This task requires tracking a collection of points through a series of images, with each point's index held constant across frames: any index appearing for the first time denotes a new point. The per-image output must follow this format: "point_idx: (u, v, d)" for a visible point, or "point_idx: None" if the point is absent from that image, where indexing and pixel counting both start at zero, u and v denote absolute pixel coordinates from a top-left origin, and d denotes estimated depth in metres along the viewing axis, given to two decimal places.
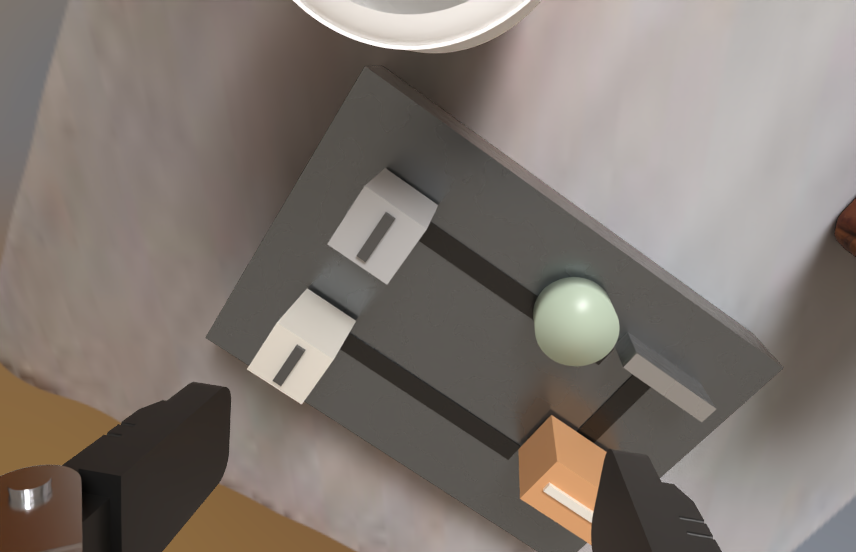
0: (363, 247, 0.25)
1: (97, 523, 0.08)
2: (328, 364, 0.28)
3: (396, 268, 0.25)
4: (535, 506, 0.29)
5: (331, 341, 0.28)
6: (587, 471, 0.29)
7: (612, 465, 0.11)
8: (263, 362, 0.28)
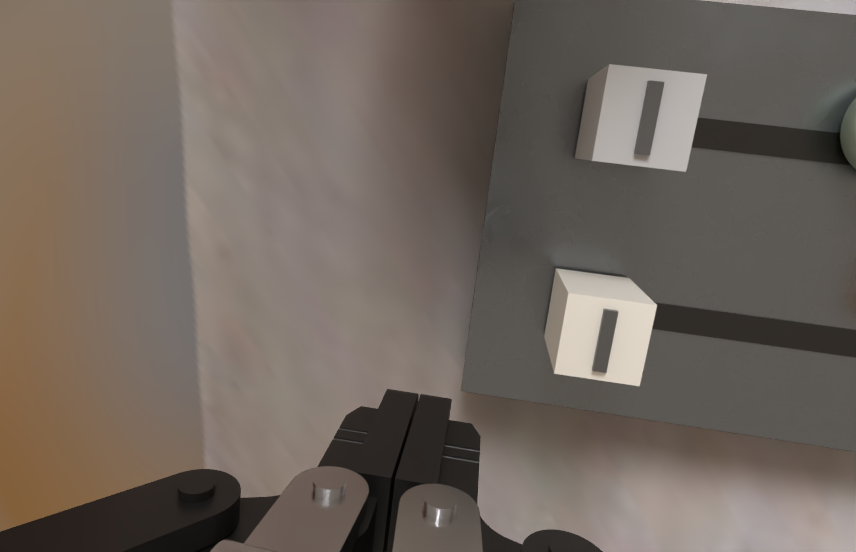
0: (639, 138, 0.19)
1: (373, 521, 0.09)
2: (653, 315, 0.21)
3: (689, 144, 0.19)
4: None
5: (633, 294, 0.22)
6: None
7: None
8: (571, 354, 0.22)
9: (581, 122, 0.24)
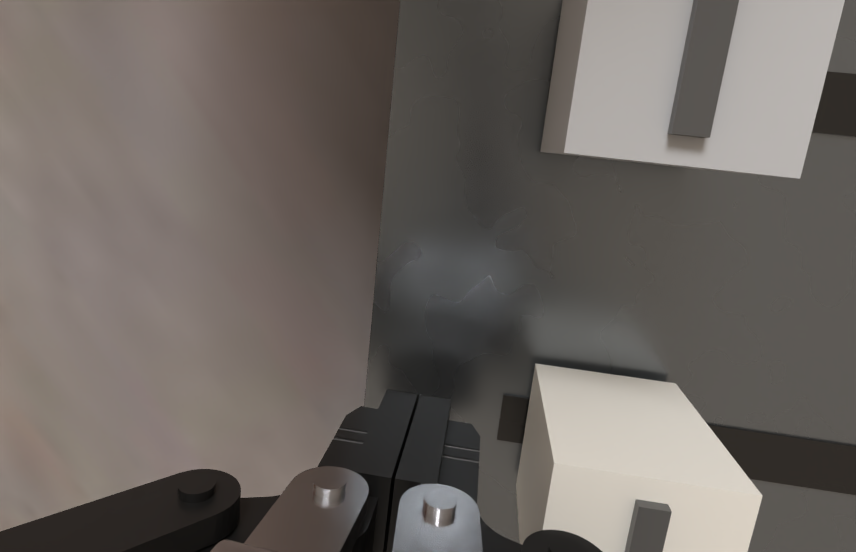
0: (683, 92, 0.08)
1: (373, 521, 0.09)
2: (751, 517, 0.09)
3: (811, 108, 0.08)
4: None
5: (698, 449, 0.10)
6: None
7: None
8: None
9: (551, 80, 0.12)
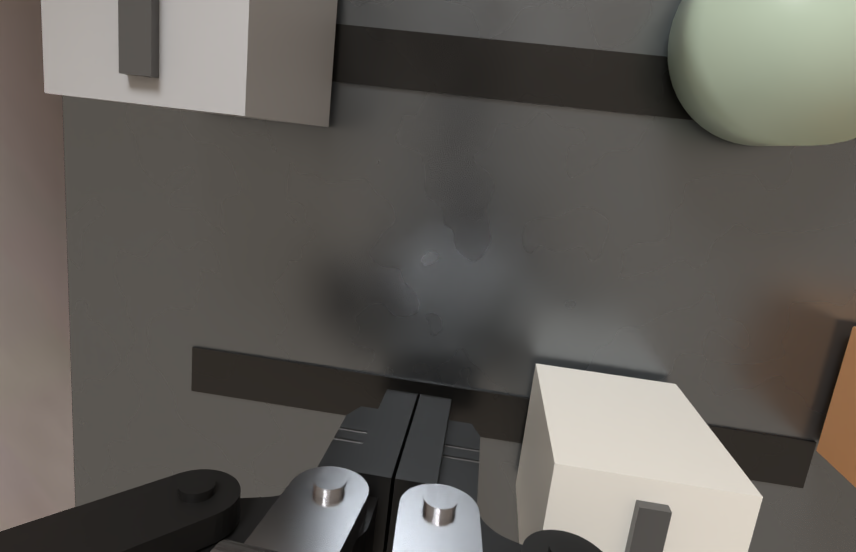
0: (121, 34, 0.08)
1: (373, 521, 0.09)
2: (752, 518, 0.09)
3: (241, 50, 0.08)
4: None
5: (698, 450, 0.10)
6: None
7: None
8: None
9: None
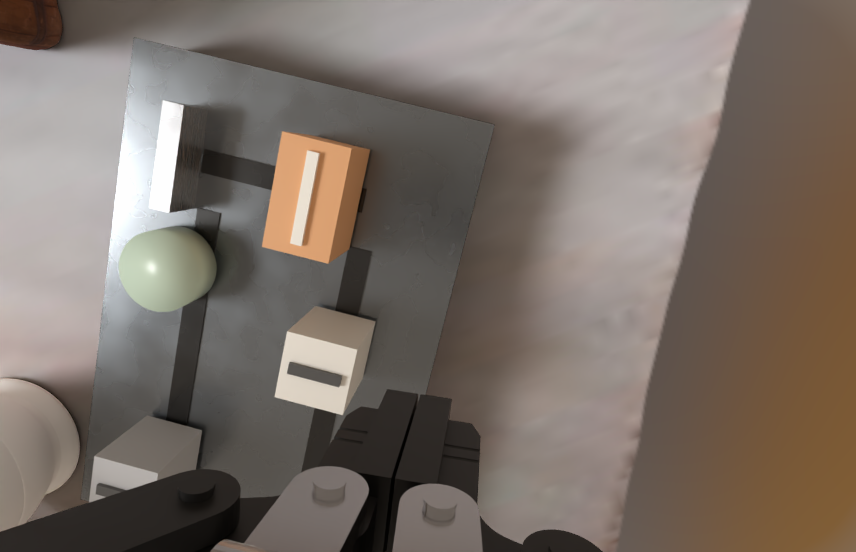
0: None
1: (373, 521, 0.09)
2: (295, 334, 0.25)
3: (139, 470, 0.27)
4: (333, 241, 0.25)
5: None
6: None
7: None
8: (326, 400, 0.26)
9: None
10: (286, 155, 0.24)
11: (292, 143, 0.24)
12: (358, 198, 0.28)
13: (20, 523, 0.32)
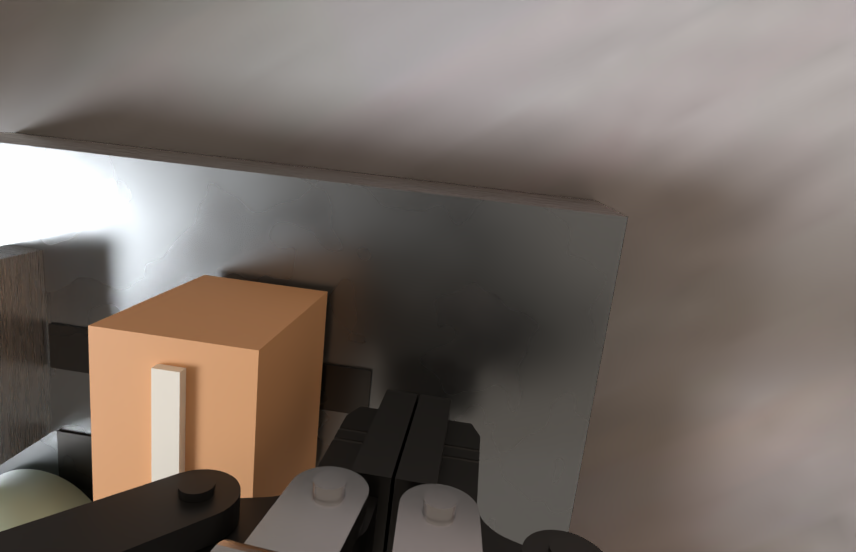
0: None
1: (373, 521, 0.09)
2: None
3: None
4: None
5: None
6: None
7: None
8: None
9: None
10: (109, 379, 0.10)
11: (117, 351, 0.10)
12: (316, 392, 0.13)
13: None
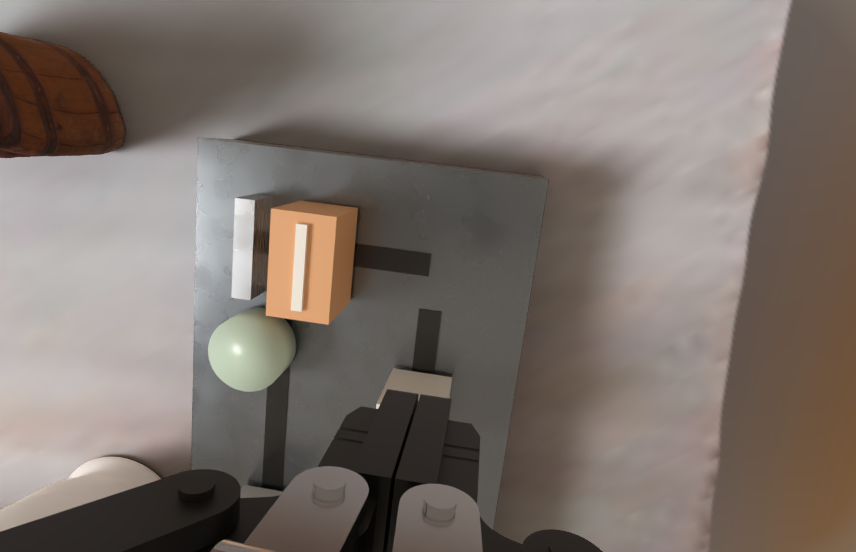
0: None
1: (373, 521, 0.09)
2: None
3: None
4: (330, 303, 0.26)
5: None
6: None
7: None
8: None
9: None
10: (277, 229, 0.26)
11: (281, 218, 0.25)
12: (352, 254, 0.29)
13: None
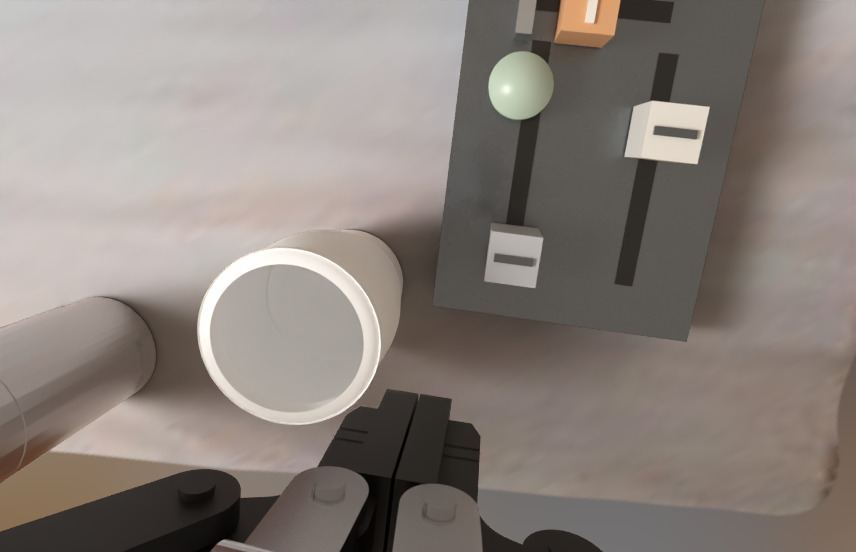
0: (523, 265, 0.35)
1: (373, 521, 0.09)
2: (658, 102, 0.33)
3: (528, 237, 0.35)
4: None
5: (644, 112, 0.34)
6: None
7: None
8: (683, 153, 0.33)
9: None
10: None
11: None
12: None
13: None
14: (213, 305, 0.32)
